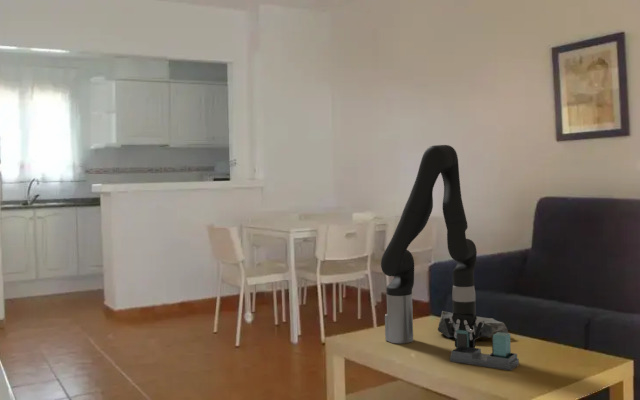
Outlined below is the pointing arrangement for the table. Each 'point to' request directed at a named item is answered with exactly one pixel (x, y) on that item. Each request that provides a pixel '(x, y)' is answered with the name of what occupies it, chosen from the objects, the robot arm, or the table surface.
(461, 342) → the block
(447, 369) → the table surface
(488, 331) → the stone
